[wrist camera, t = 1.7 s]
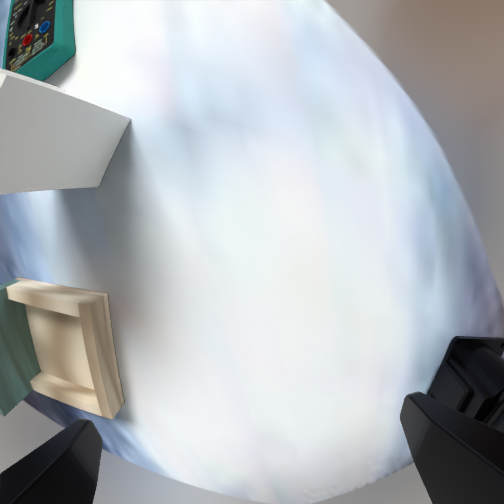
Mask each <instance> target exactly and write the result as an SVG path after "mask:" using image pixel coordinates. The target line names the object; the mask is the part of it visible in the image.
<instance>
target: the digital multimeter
mask: <svg viewBox="0 0 504 504" xmlns="http://www.w3.org/2000/svg"><path fill="white" fill-rule="evenodd" d="M29 2H30V3H29ZM28 3H29V4H28ZM27 4H28V5H27ZM26 5H27V6H26ZM55 6H56V8H55ZM22 10H23V11H22ZM54 25H55V26H54ZM21 32H22V33H21ZM74 53H75V41H74V31H73V0H11V5H10V11H9V17H8V24H7V31H6V39H5V47H4V56H3V67H2V69H4V70H8V71H11V72H14V73H17V74H20V75H23V76H27V77H30V78H33V79H35V80H38V81H41V82H42V81H44V80H45V79H47V78H48V77H49V76H50V75H51V74H53V73H54V72H55V71H56V70H57V69H59V68H60V67H61V66H62V65H63V64H64V63H65V62H66V61H68V60H69V59H70V58H71V57H72V56H73V55H74Z"/></svg>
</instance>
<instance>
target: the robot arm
mask: <svg viewBox="0 0 504 504" xmlns="http://www.w3.org/2000/svg"><path fill="white" fill-rule="evenodd" d="M457 342H458V343H457ZM456 343H457V344H456ZM503 351H504V338H491V337H468V336H456V337H454V338H453V339H452V341H451V343H450V345H449V348H448V350H447V353H446V355H445V358H444V360H443V362H442V365H441V367H440V369H439V371H438V374H437V376H436V378H435V380H434V382H433V384H432V387H431V389H430V391H429V393H428V395H425V394H423V393H422V392H414V393H411V394H408V395H406V397H405V399H404V402H403V406H402V409H401V413H400V421H401V424H402V427H403V430H404V433H405V436H406V439H407V442H408V445H409V448H410V452H411V455H412V458H413V460H414V463H415V465H416V467H417V469H418V472H419V474H420V476H421V479H422V481H423V483H424V485H425V487H426V490H427V492H428V494H429V497H430V499H431V501H432V503H433V504H504V359H503V358H502V357H501V356H502V354H503ZM102 446H103V441H102V438H101V436H100V434H99V432H98V430H97V429H96V427H95V425H94V423H93V422H92V421H91V420H87V419H78V420H76V421H75V422H73V423H72V424H71V425H69V426H68V427H66V428H65V429H64V430H62V431H61V432H59V433H58V434H57V435H55V436H54V437H52V438H51V439H49V440H48V441H47V442H45V443H44V444H43V445H41V446H39V447H38V448H37V449H35V450H34V451H32V452H31V453H29V454H28V455H26V456H25V457H24V458H22V459H21V460H19V461H18V462H16V463H15V464H13V465H12V466H10V467H9V468H7V469H6V470H4V471H3V472H1V474H0V504H92V503H93V499H94V495H95V491H96V486H97V481H98V474H99V466H100V459H101V452H102Z"/></svg>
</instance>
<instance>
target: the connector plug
mask: <svg viewBox="0 0 504 504" xmlns="http://www.w3.org/2000/svg"><path fill="white" fill-rule="evenodd" d="M130 120H131V119H130V118H128V117H126V116H124V115H122V114H120V113H118V112H115V111H113V110H111V109H109V108H107V107H105V106H102V105H100V104H98V103H96V102H94V101H91V100H89V99H87V98H85V97H82V96H80V95H77V94H75V93H72V92H69V91H67V90H64V89H61V88H58V87H56V86H53V85H50V84H47V83H44V82H41V81H38V80H35V79H33V78H30V77H27V76H23V75H20V74H17V73H14V72H11V71H8V70H4V69H1V68H0V195H2V194H11V193H21V192H32V191H43V190H56V189H70V188H87V187H99V185H100V182H101V180H102V178H103V176H104V173H105V171H106V169H107V167H108V164H109V162H110V160H111V158H112V156H113V154H114V152H115V149H116V147H117V145H118V143H119V141H120V139H121V137H122V135H123V133H124V131H125V129H126V127H127V126H128V124H129V122H130Z"/></svg>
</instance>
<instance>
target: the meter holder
mask: <svg viewBox="0 0 504 504" xmlns="http://www.w3.org/2000/svg"><path fill="white" fill-rule="evenodd" d="M32 390H35V391H37V392H39V393H41V394H44V395H46V396H48V397H51V398H53V399H56V400H58V401H61V402H63V403H66V404H68V405H71V406H74V407H76V408H79V409H82V410H85V411H87V412H90V413H93V414H96V415H99V416H102V417H106V418H109V419H112V420H113V418H114V417H115V415H116V414H117V412H118V411H119V410H120V408H121V407H122V405H123V404H124V397H123V392H122V387H121V382H120V377H119V372H118V366H117V361H116V355H115V348H114V342H113V335H112V327H111V319H110V311H109V301H108V293H102V292H96V291H90V290H84V289H78V288H72V287H66V286H61V285H55V284H50V283H45V282H39V281H34V280H29V279H24V278H19V277H18V278H16V279H14V280H11V281H9V282H7V283H4V284H2V285H0V414H1V415H3V416H6V415H7V414H8V413H9V412H10V411H11V410H12V409H13V408H14V407H15V406H16V405H17V404H18V403H19V402H20V401H21V400H23V399H24V398H25V397H26V396H27V395H28V394H29V393H30V392H31V391H32Z"/></svg>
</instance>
